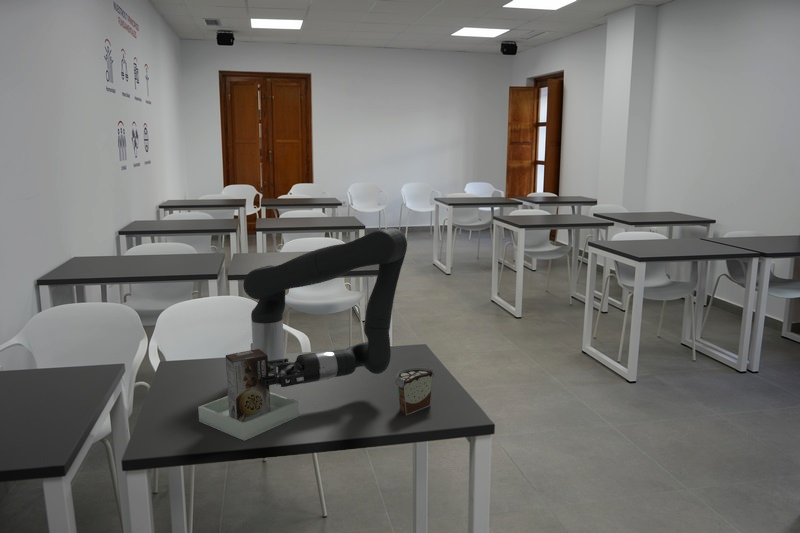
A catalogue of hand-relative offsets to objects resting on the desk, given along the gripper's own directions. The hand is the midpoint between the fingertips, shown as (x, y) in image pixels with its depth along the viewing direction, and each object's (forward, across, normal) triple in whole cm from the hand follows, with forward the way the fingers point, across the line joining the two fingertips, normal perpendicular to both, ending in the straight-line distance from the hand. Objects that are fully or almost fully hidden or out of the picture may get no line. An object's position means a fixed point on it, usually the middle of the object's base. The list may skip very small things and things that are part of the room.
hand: (256, 376), depth 162 cm
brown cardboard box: (+2, 0, +10) cm, 10 cm away
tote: (+2, 0, +11) cm, 11 cm away
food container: (-38, +12, +11) cm, 41 cm away
